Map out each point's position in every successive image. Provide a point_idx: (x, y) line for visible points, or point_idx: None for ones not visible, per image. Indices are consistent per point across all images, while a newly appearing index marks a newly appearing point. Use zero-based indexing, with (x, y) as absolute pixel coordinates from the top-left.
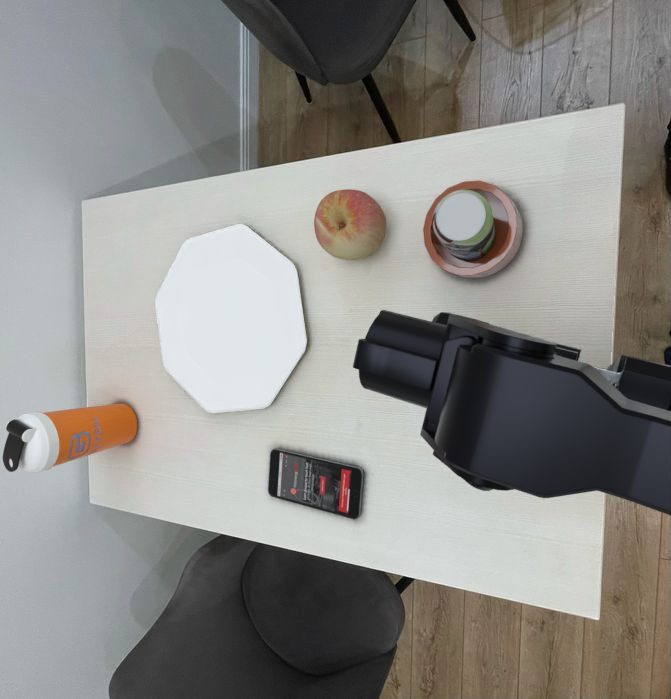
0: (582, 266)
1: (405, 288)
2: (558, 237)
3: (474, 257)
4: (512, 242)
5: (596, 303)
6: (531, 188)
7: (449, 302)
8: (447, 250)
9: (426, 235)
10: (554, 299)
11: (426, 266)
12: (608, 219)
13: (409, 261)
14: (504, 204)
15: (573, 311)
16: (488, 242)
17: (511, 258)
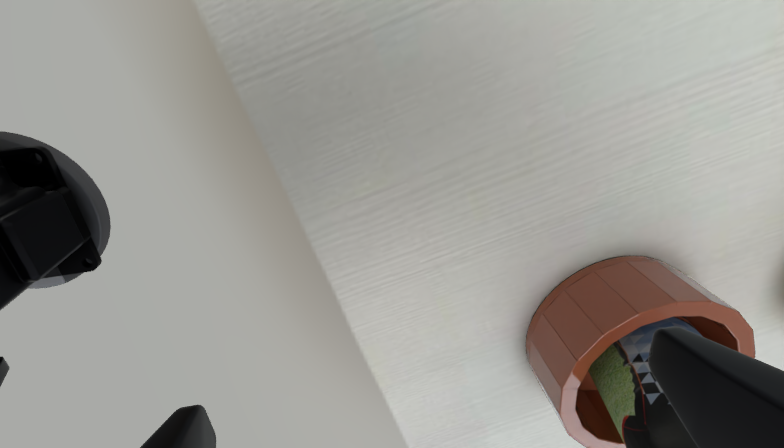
0: (409, 341)
1: (753, 189)
2: (464, 366)
3: (633, 335)
4: (564, 392)
5: (359, 296)
6: (528, 410)
7: (649, 196)
8: (689, 323)
9: (748, 348)
10: (436, 276)
11: (704, 247)
12: (397, 409)
13: (742, 244)
14: (591, 436)
15: (394, 269)
16: (626, 402)
17: (540, 322)
